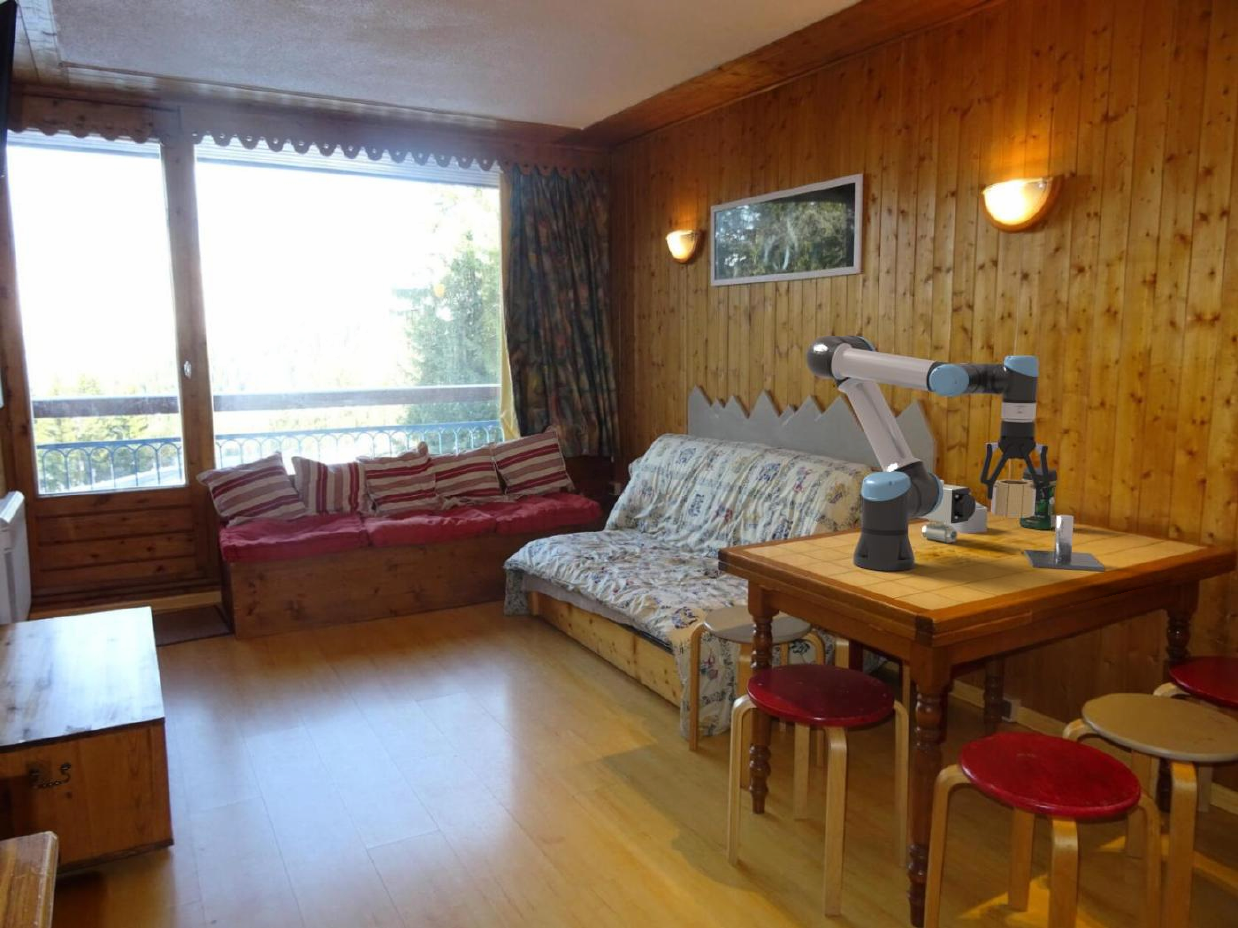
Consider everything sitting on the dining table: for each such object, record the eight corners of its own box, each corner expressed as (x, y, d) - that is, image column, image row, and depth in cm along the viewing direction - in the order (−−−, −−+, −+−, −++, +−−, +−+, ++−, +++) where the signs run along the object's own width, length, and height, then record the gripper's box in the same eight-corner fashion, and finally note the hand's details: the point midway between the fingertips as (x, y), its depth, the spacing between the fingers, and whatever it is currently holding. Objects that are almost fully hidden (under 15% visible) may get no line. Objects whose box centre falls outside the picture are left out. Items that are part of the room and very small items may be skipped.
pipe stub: (1032, 566, 224) (1035, 520, 222) (1024, 553, 239) (1026, 509, 237) (1103, 571, 219) (1106, 523, 217) (1090, 556, 234) (1093, 512, 233)
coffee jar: (1015, 526, 274) (1018, 467, 272) (1027, 523, 280) (1030, 465, 277) (1047, 531, 267) (1050, 470, 265) (1058, 527, 272) (1061, 468, 270)
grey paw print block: (965, 534, 265) (966, 505, 263) (933, 526, 276) (934, 499, 275) (991, 531, 269) (992, 503, 268) (959, 523, 280) (960, 496, 279)
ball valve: (977, 543, 251) (980, 481, 249) (960, 548, 246) (962, 484, 244) (922, 533, 265) (924, 475, 263) (904, 537, 260) (906, 477, 258)
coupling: (995, 516, 213) (997, 483, 212) (992, 510, 221) (994, 479, 220) (1032, 518, 211) (1034, 485, 210) (1027, 512, 218) (1030, 480, 217)
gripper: (972, 420, 212) (967, 513, 215) (1068, 422, 206) (1062, 519, 209) (970, 417, 219) (965, 508, 222) (1063, 420, 213) (1056, 513, 216)
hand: (1012, 513), depth 216 cm, fingers closed on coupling, 8 cm apart
